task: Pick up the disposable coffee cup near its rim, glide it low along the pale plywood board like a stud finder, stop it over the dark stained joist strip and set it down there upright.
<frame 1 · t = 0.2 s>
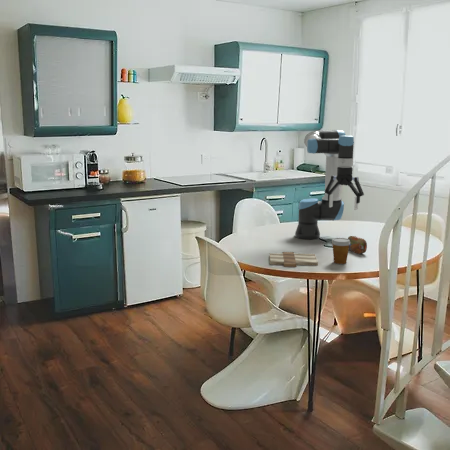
hand: (343, 208, 278), 28 cm above the table, tool pointing down, fingers open, 13 cm apart
board: (289, 260, 283), on the table
disposable coffee cup: (340, 262, 280), on the table
tin: (356, 252, 299), on the table
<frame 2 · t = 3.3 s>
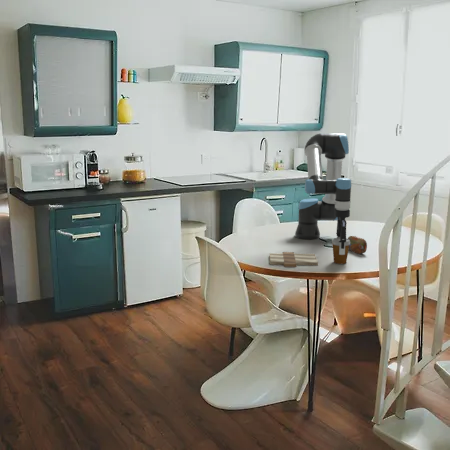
hand: (340, 251, 278), 6 cm above the table, tool pointing down, fingers closed on disposable coffee cup, 9 cm apart
disposable coffee cup: (339, 262, 280), on the table, touching gripper
everything else where it was.
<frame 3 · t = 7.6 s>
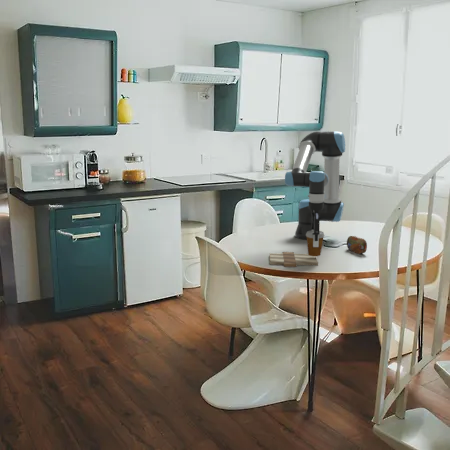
hand: (314, 244, 280), 9 cm above the table, tool pointing down, fingers closed on disposable coffee cup, 9 cm apart
disposable coffee cup: (314, 255, 282), point 3 cm above the table, touching gripper
everything else where it was.
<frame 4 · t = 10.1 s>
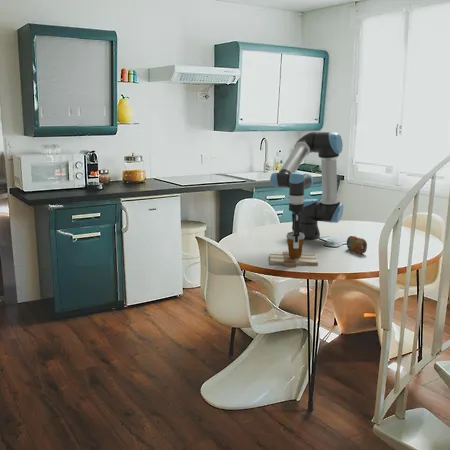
hand: (295, 245, 281), 8 cm above the table, tool pointing down, fingers closed on disposable coffee cup, 9 cm apart
disposable coffee cup: (295, 256, 283), point 2 cm above the table, touching gripper
everything else where it was.
when the fingers open (8 cm above the table, at t = 12.4 s): disposable coffee cup stays where it is, resting on board.
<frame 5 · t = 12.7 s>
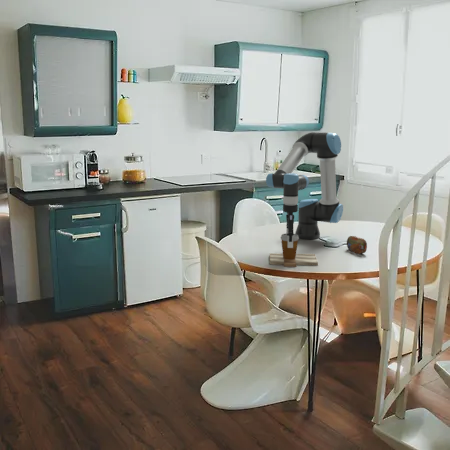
hand: (289, 244, 281), 9 cm above the table, tool pointing down, fingers open, 13 cm apart
disposable coffee cup: (289, 258, 283), point 1 cm above the table, touching board
everything else where it was.
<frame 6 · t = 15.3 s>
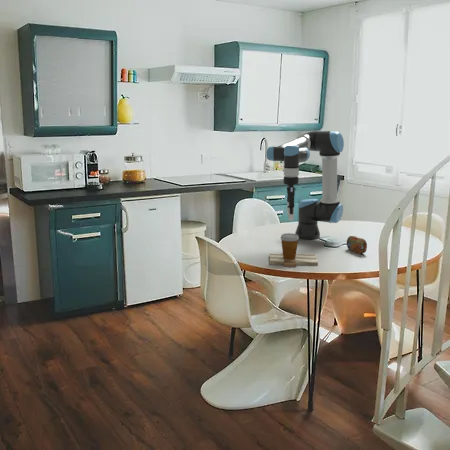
hand: (290, 217, 278), 23 cm above the table, tool pointing down, fingers open, 13 cm apart
nothing on the table moved.
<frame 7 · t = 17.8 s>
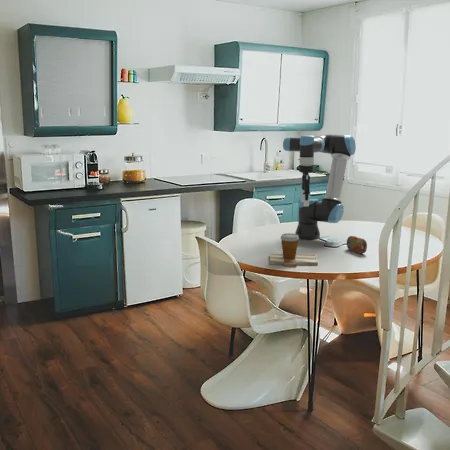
hand: (305, 204, 294), 27 cm above the table, tool pointing down, fingers open, 13 cm apart
nothing on the table moved.
at the end: disposable coffee cup inside the target area on the board (0.1 cm from its centre), point 1.3 cm above the board's base; disposable coffee cup tilted 0°; the gripper is holding nothing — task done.
